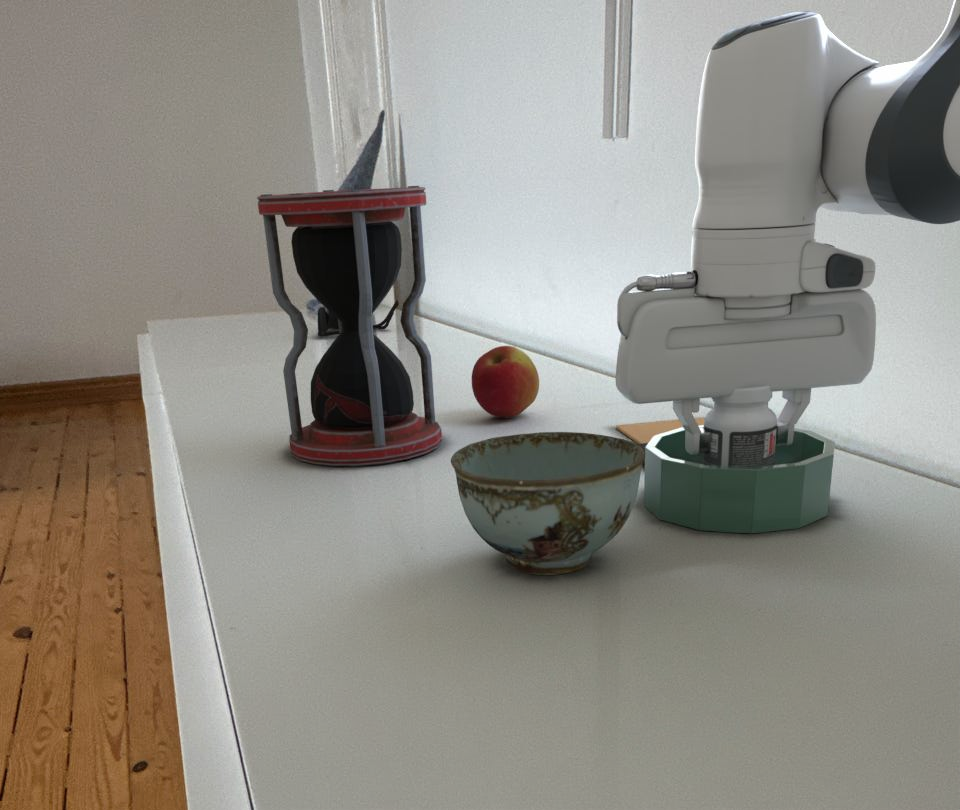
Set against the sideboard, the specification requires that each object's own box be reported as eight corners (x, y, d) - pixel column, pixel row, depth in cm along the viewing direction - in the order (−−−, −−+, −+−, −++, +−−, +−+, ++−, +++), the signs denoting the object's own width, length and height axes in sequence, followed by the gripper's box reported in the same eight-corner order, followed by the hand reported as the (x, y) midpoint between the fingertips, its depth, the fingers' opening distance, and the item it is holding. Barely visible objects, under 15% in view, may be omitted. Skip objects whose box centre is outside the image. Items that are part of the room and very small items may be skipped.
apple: (462, 415, 118) (458, 346, 114) (524, 406, 121) (522, 338, 117) (487, 428, 111) (484, 354, 108) (552, 418, 114) (551, 346, 111)
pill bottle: (779, 498, 84) (789, 377, 79) (759, 518, 79) (769, 392, 75) (713, 490, 86) (719, 374, 82) (690, 509, 82) (695, 387, 78)
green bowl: (777, 472, 90) (782, 417, 88) (863, 521, 77) (871, 458, 75) (623, 488, 88) (624, 432, 86) (684, 541, 75) (687, 477, 73)
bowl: (583, 610, 64) (582, 490, 61) (419, 574, 72) (411, 465, 68) (674, 546, 74) (678, 440, 71) (522, 520, 82) (519, 423, 78)
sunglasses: (388, 337, 178) (386, 308, 176) (311, 339, 181) (308, 310, 179) (411, 323, 193) (408, 296, 191) (339, 325, 196) (336, 298, 193)
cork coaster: (702, 419, 110) (703, 417, 110) (741, 440, 101) (741, 437, 101) (615, 428, 109) (615, 425, 108) (646, 450, 100) (647, 447, 100)
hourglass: (420, 422, 115) (402, 185, 105) (461, 454, 101) (445, 185, 91) (280, 439, 111) (247, 194, 101) (303, 475, 97) (267, 195, 87)
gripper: (631, 280, 71) (628, 471, 77) (896, 261, 74) (874, 445, 80) (604, 273, 76) (604, 451, 82) (852, 255, 79) (834, 428, 85)
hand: (739, 448), depth 81 cm, fingers closed on pill bottle, 6 cm apart
